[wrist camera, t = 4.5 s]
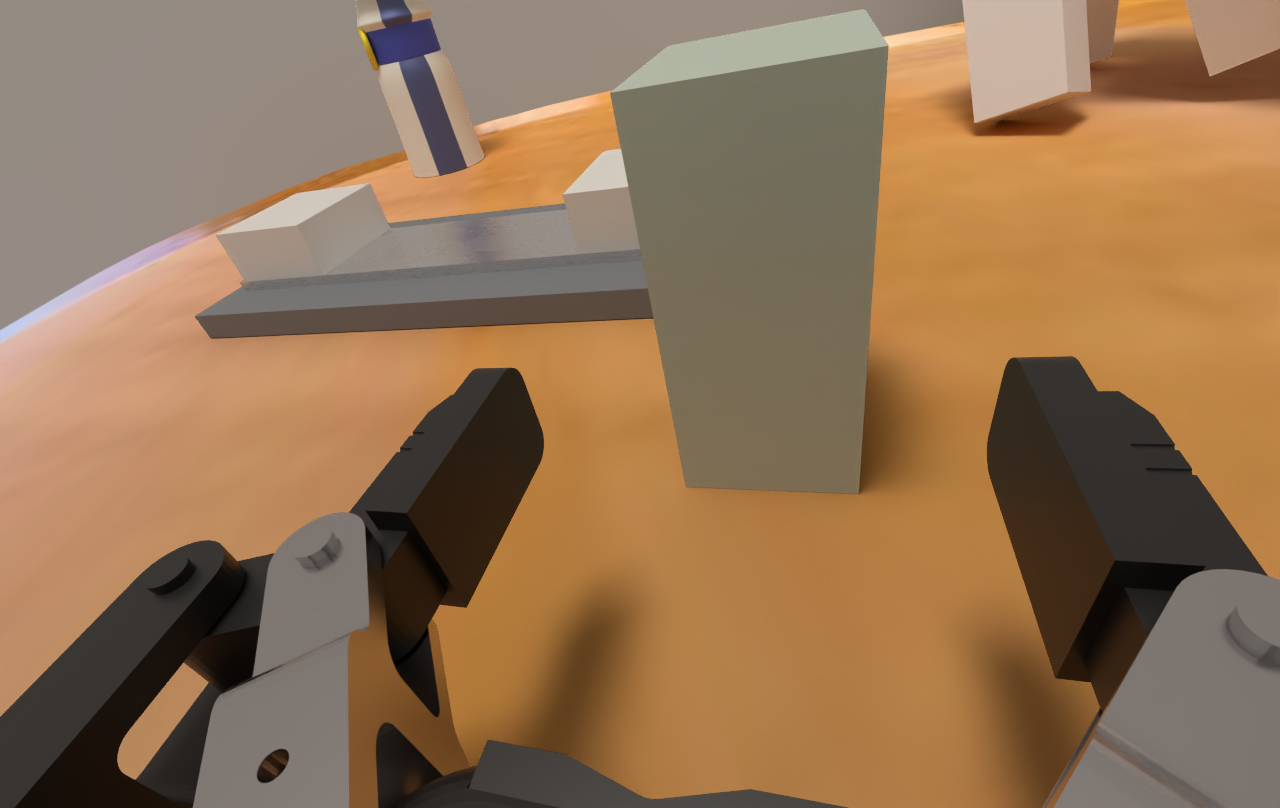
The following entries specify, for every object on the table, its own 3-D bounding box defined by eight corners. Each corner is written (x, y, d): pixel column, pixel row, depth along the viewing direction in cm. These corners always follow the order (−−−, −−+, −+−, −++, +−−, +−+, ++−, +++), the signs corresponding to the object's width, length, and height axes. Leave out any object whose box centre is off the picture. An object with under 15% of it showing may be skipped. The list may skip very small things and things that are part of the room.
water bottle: (412, 185, 57) (271, -159, 42) (407, 169, 64) (284, -133, 49) (492, 162, 59) (383, -176, 44) (479, 149, 65) (380, -149, 50)
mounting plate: (725, 202, 32) (724, 192, 32) (708, 255, 27) (706, 243, 27) (318, 244, 41) (314, 236, 40) (245, 291, 36) (239, 282, 35)
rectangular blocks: (716, 191, 32) (710, 135, 31) (696, 244, 27) (687, 179, 25) (322, 234, 41) (299, 191, 39) (245, 281, 35) (215, 234, 33)
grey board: (749, 207, 35) (747, 183, 34) (725, 314, 26) (721, 283, 25) (343, 248, 44) (333, 229, 43) (210, 337, 35) (194, 316, 34)
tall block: (848, 368, 21) (864, 7, 14) (858, 494, 16) (888, 45, 10) (712, 370, 22) (670, 44, 16) (685, 486, 18) (610, 92, 11)
